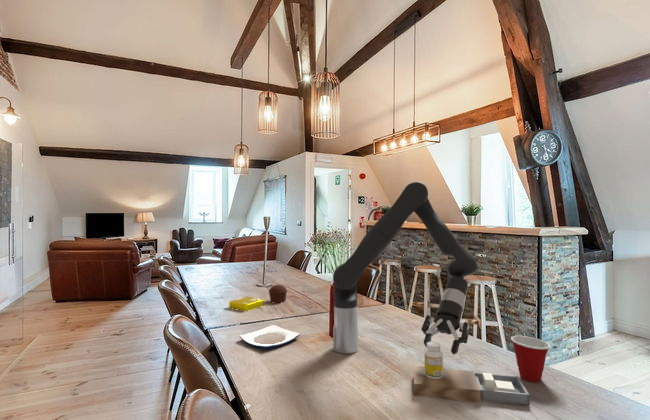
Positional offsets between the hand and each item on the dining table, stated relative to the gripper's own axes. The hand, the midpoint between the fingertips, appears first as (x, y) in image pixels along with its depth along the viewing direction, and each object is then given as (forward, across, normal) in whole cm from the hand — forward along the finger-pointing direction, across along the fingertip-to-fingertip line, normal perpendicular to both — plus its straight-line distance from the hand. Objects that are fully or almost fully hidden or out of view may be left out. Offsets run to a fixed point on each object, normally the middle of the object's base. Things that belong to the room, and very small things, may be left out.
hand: (439, 349), depth 107 cm
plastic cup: (-7, +21, +22) cm, 31 cm away
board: (+9, +3, +5) cm, 11 cm away
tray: (+4, +16, +10) cm, 20 cm away
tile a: (+4, +12, +6) cm, 15 cm away
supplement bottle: (+8, 0, +2) cm, 8 cm away
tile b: (+2, +18, +8) cm, 19 cm away
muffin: (-18, -117, +33) cm, 123 cm away
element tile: (-4, -123, +19) cm, 124 cm away
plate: (+14, -71, +1) cm, 72 cm away
